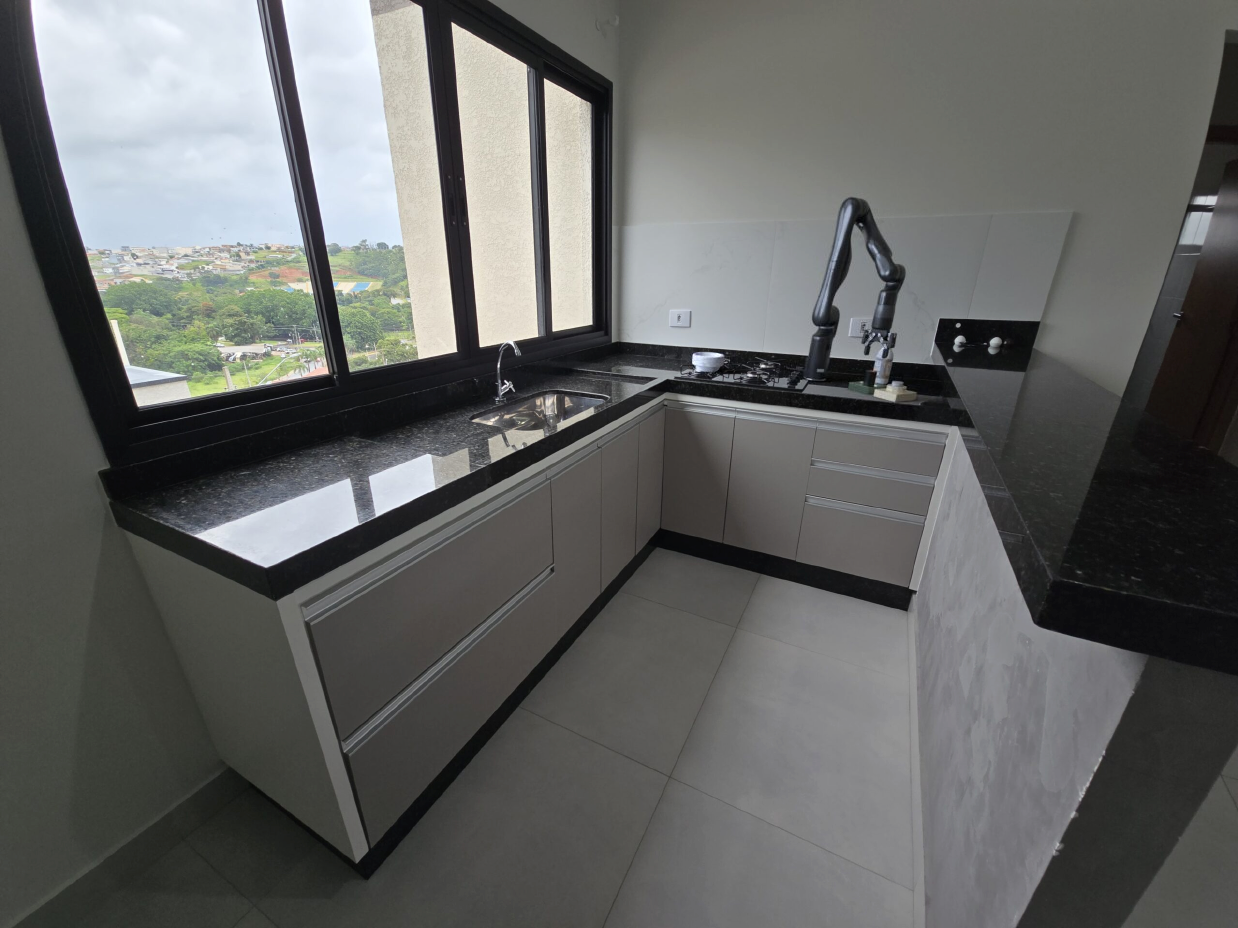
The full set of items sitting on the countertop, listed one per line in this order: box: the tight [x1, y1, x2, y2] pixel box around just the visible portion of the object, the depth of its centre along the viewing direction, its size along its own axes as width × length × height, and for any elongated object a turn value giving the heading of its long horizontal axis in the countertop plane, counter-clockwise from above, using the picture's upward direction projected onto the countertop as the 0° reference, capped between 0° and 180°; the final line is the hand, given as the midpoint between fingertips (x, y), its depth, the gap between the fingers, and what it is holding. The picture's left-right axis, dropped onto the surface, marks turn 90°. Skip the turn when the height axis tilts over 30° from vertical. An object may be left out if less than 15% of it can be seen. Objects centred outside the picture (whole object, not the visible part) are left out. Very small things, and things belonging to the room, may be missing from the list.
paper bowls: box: [692, 351, 726, 373], centre depth 245 cm, size 15×15×8 cm
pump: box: [891, 380, 904, 387], centre depth 204 cm, size 4×4×2 cm
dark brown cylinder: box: [863, 369, 877, 385], centre depth 214 cm, size 4×4×6 cm
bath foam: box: [873, 338, 895, 385], centre depth 231 cm, size 7×7×20 cm
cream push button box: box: [873, 383, 918, 403], centre depth 205 cm, size 10×12×5 cm
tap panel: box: [847, 380, 888, 395], centre depth 216 cm, size 10×12×3 cm
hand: (875, 356), depth 211 cm, fingers open, 8 cm apart
